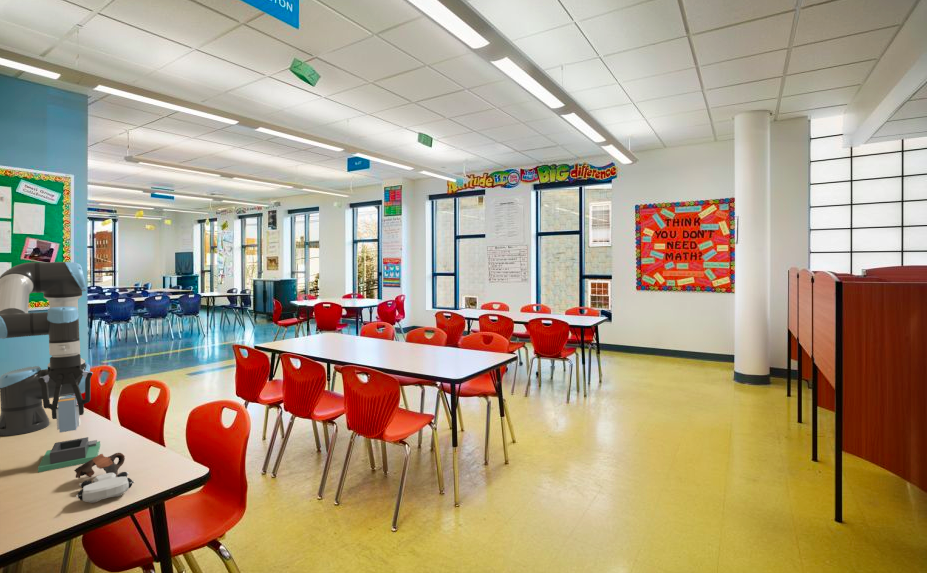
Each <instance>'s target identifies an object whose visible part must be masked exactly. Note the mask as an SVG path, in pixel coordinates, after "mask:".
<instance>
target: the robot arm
mask: <svg viewBox="0 0 927 573" xmlns="http://www.w3.org/2000/svg"><path fill="white" fill-rule="evenodd" d="M83 270H84V269H83V268H82V265H81V264H80V263H78V262H71V261H70V262H68V261H56V262H54V261H52V262H51V261H49V262H34V261H33V262H24V263H21V264H17V265H15V266H12V267H11V268H9V269H6V271H4V272H3V273H2V274H1V275H0V339H2V340H4V339H9V338H10V339H11V338H25V337H35V336H46V335H47V336H48V348H49V351H48V352H49V356H50V357H49V362H48V363H47V368H46V369H42V368H41V367H40V366H39V365H38V366H36V365H35V366H27V367H21V368H18V369H14V370H10V371H8V372H5V373H3V374H1V375H0V436H2V437H6V436H17V435H22V434H23V435H24V434H28V433H32V432H35V431H39V430H42V429H44V428H47V427H49V425H50V418H49V416H48V414H47V413H46V409H49V410H51V419H52V420H56V429H57V430H58V431H59V413H58V400H59V399H60V398H62V397H70V396H76V399H77V405H76V427H77V428H78V427H80V426H81V416H83V415H84V412H85V406H84V405H85V404H88V403H90V402H91V398H92V396H91V392H92V390H91V389H92V388H91V386H92V385H91V381H92V380H91V378H92V376H93V375H94V372H93V371H92V370H91V365H90V364H88V363H86V360H85V359H83V358H82V357H81V340H80V320H79V319H80V314H79V302H78V300H79V299H80V298H82V297H83V292H87V286H86V280H85V275H84V271H83ZM33 293H35V294H36V293H37V294H39V293H43V299H46V300H47V301H48V302H49V308H48V309H47V311H42V312H29V305H30V304H29V300H30V294H33ZM82 394H84V399H83V395H82ZM51 399H52V403H51V402H50V400H51Z"/></svg>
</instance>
